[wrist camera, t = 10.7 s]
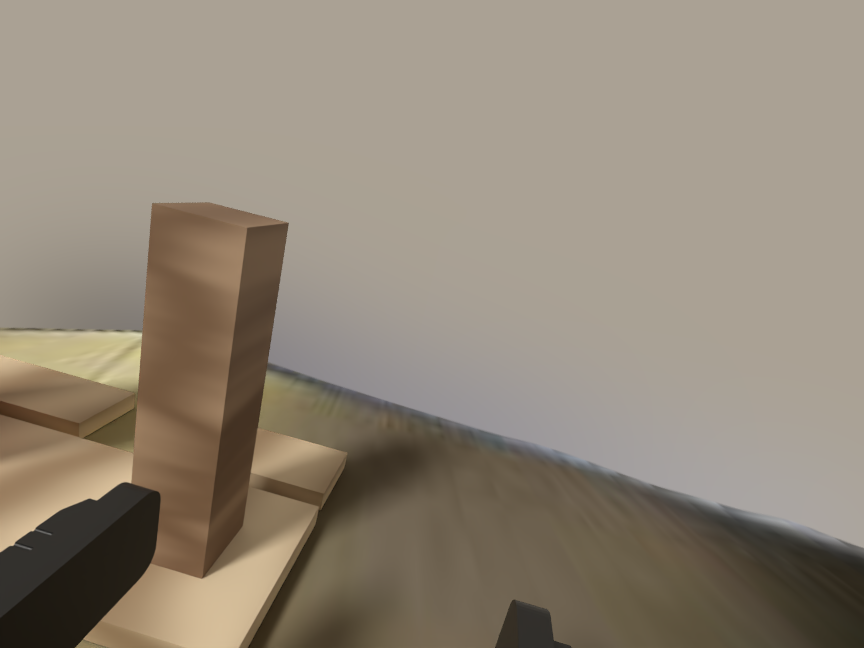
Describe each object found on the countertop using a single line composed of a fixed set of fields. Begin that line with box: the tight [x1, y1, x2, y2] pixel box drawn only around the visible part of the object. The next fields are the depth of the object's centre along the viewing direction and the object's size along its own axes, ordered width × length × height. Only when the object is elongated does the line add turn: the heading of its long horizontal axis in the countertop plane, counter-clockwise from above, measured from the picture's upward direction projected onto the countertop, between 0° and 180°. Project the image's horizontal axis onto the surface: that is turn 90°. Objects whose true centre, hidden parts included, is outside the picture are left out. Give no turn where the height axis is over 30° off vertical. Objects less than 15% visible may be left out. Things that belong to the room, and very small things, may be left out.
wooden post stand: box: [0, 203, 319, 648], centre depth 18 cm, size 22×8×14 cm, turn 83°
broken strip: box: [0, 355, 347, 511], centre depth 27 cm, size 22×4×1 cm, turn 83°
